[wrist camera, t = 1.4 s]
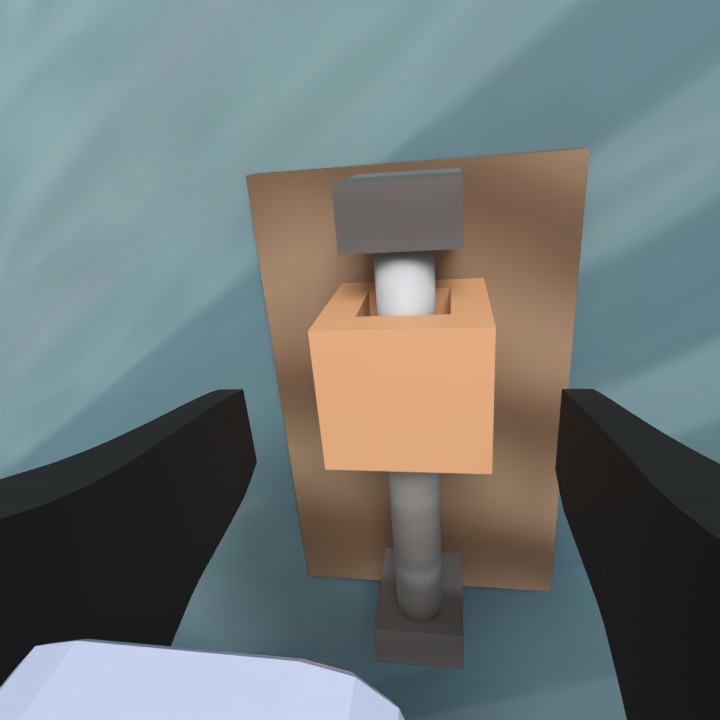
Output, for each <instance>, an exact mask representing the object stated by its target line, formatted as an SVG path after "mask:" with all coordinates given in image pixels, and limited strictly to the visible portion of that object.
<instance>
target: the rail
mask: <svg viewBox="0 0 720 720" xmlns="http://www.w3.org/2000/svg"><path fill="white" fill-rule="evenodd" d="M588 160H589V149H582V148H579V149H566V150H554V151H541V152H528V153H515V154H502V155H489V156H476V157H464V158H451V159H438V160H425V161H412V162H399V163H386V164H374V165H361V166H348V167H335V168H322V169H309V170H296V171H284V172H271V173H258V174H252V175H247V176H246V181H247V187H248V193H249V200H250V206H251V213H252V219H253V225H254V232H255V238H256V244H257V251H258V257H259V264H260V270H261V276H262V283H263V289H264V296H265V302H266V308H267V315H268V321H269V327H270V334H271V340H272V347H273V353H274V359H275V366H276V372H277V379H278V385H279V391H280V398H281V404H282V410H283V417H284V423H285V430H286V436H287V442H288V449H289V455H290V462H291V468H292V474H293V481H294V487H295V493H296V500H297V506H298V513H299V519H300V525H301V532H302V538H303V545H304V551H305V557H306V564H307V570H308V576H320V577H335V578H350V579H366V580H381V585H380V591H379V598H378V605H377V611H376V618H375V624H374V636H375V647H376V657H377V661H379V662H390V663H400V664H411V665H422V666H433V667H443V668H454V669H463V602H462V586H473V587H488V588H503V589H519V590H534V591H549V592H550V591H551V580H552V568H553V557H554V546H555V534H556V523H557V512H558V500H559V486H558V481H557V476H556V471H555V466H556V454H557V442H558V430H559V418H560V406H561V394H562V389H568V387H569V375H570V364H571V353H572V341H573V330H574V319H575V307H576V296H577V285H578V273H579V262H580V250H581V239H582V228H583V216H584V205H585V194H586V182H587V171H588ZM469 278H484V280H485V284H486V288H487V293H488V297H489V301H490V305H491V309H492V313H493V317H494V322H495V326H496V342H495V381H494V420H493V459H492V474H465V473H429V472H393V471H357V470H325V464H324V456H323V448H322V440H321V432H320V424H319V416H318V409H317V401H316V393H315V385H314V377H313V369H312V361H311V353H310V345H309V337H308V330H309V329H310V327H311V326H312V325H313V323H314V322H315V320H316V319H317V318H318V316H319V315H320V313H321V312H322V311H323V309H324V308H325V306H326V305H327V304H328V302H329V301H330V299H331V298H332V297H333V295H334V294H335V292H336V291H337V290H338V288H339V287H340V285H341V284H342V283H362V282H375V288H376V302H377V316H406V315H436V295H435V280H442V279H469Z"/></svg>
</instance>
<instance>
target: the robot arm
mask: <svg viewBox="0 0 720 720" xmlns="http://www.w3.org/2000/svg"><path fill="white" fill-rule="evenodd" d="M256 463H257V460H256V455H255V450H254V445H253V439H252V434H251V429H250V423H249V418H248V413H247V408H246V402H245V397H244V392H243V390H216V391H213V392H210V393H208V394H206V395H203V396H201V397H199V398H197V399H195V400H193V401H190V402H188V403H186V404H184V405H182V406H180V407H178V408H176V409H174V410H172V411H170V412H168V413H166V414H165V415H163V416H161V417H159V418H157V419H155V420H153V421H151V422H149V423H147V424H144V425H142V426H140V427H138V428H136V429H134V430H132V431H129V432H127V433H125V434H123V435H121V436H119V437H117V438H114V439H112V440H110V441H108V442H106V443H103V444H101V445H99V446H96V447H94V448H91V449H89V450H87V451H84V452H81V453H79V454H76V455H73V456H71V457H68V458H65V459H63V460H60V461H57V462H54V463H52V464H49V465H45V466H42V467H39V468H36V469H33V470H29V471H26V472H23V473H20V474H16V475H13V476H10V477H7V478H3V479H0V720H404V718H403V716H402V713H401V711H400V709H399V708H398V707H397V706H396V705H395V704H394V703H393V702H392V701H391V700H390V699H389V698H387V697H386V696H385V695H383V694H382V693H380V692H379V691H378V690H376V689H375V688H374V687H372V686H371V685H369V684H368V683H367V682H365V681H364V680H362V679H361V678H360V677H358V676H357V675H356V674H354V673H353V672H350V671H346V670H342V669H339V668H335V667H331V666H328V665H324V664H320V663H317V662H313V661H309V660H306V659H302V658H291V657H280V656H269V655H258V654H247V653H236V652H225V651H214V650H204V649H193V648H182V647H171V644H172V642H173V639H174V637H175V634H176V632H177V629H178V627H179V625H180V622H181V620H182V617H183V615H184V613H185V610H186V608H187V605H188V603H189V601H190V598H191V596H192V594H193V592H194V589H195V587H196V585H197V583H198V581H199V579H200V577H201V575H202V574H203V572H204V570H205V568H206V566H207V564H208V563H209V561H210V559H211V557H212V555H213V554H214V552H215V550H216V548H217V546H218V545H219V543H220V541H221V539H222V537H223V535H224V534H225V532H226V530H227V528H228V526H229V525H230V523H231V521H232V519H233V517H234V515H235V513H236V512H237V510H238V508H239V506H240V504H241V502H242V500H243V498H244V496H245V493H246V491H247V488H248V486H249V483H250V480H251V478H252V475H253V472H254V469H255V466H256ZM555 471H556V476H557V481H558V486H559V491H560V495H561V500H562V504H563V509H564V512H565V515H566V518H567V520H568V523H569V526H570V529H571V532H572V534H573V537H574V540H575V543H576V545H577V548H578V551H579V554H580V556H581V559H582V562H583V564H584V567H585V570H586V573H587V575H588V578H589V581H590V584H591V586H592V589H593V592H594V594H595V597H596V600H597V603H598V606H599V609H600V612H601V616H602V619H603V622H604V626H605V630H606V634H607V638H608V642H609V646H610V650H611V654H612V658H613V662H614V666H615V670H616V674H617V678H618V683H619V687H620V691H621V695H622V700H623V704H624V708H625V713H626V717H627V720H720V464H719V463H717V462H715V461H713V460H711V459H709V458H707V457H705V456H703V455H701V454H700V453H698V452H696V451H694V450H692V449H690V448H689V447H687V446H685V445H683V444H681V443H680V442H678V441H676V440H674V439H673V438H671V437H669V436H668V435H666V434H664V433H662V432H661V431H659V430H658V429H656V428H654V427H653V426H651V425H649V424H648V423H646V422H645V421H643V420H642V419H640V418H638V417H637V416H635V415H634V414H632V413H631V412H629V411H628V410H626V409H625V408H623V407H621V406H620V405H618V404H617V403H615V402H614V401H612V400H611V399H609V398H608V397H606V396H604V395H603V394H601V393H599V392H598V391H596V390H594V389H562V394H561V406H560V418H559V430H558V442H557V454H556V466H555Z"/></svg>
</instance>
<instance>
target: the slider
mask: <svg viewBox="0 0 720 720" xmlns="http://www.w3.org/2000/svg"><path fill="white" fill-rule="evenodd" d="M435 295H436V315H406V316H377V302H376V288H375V282H362V283H342V284H341V285H340V287H339V288H338V290H337V291H336V292H335V294H334V295H333V297H332V298H331V299H330V301H329V302H328V304H327V305H326V306H325V308H324V309H323V311H322V312H321V313H320V315H319V316H318V318H317V319H316V320H315V322H314V323H313V325H312V326H311V327H310V329H309V330H308V337H309V345H310V353H311V361H312V369H313V377H314V385H315V393H316V401H317V409H318V416H319V424H320V432H321V440H322V448H323V456H324V464H325V470H357V471H393V472H429V473H465V474H492V459H493V420H494V381H495V342H496V326H495V322H494V317H493V313H492V309H491V305H490V301H489V297H488V293H487V288H486V284H485V280H484V278H469V279H442V280H435Z"/></svg>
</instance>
